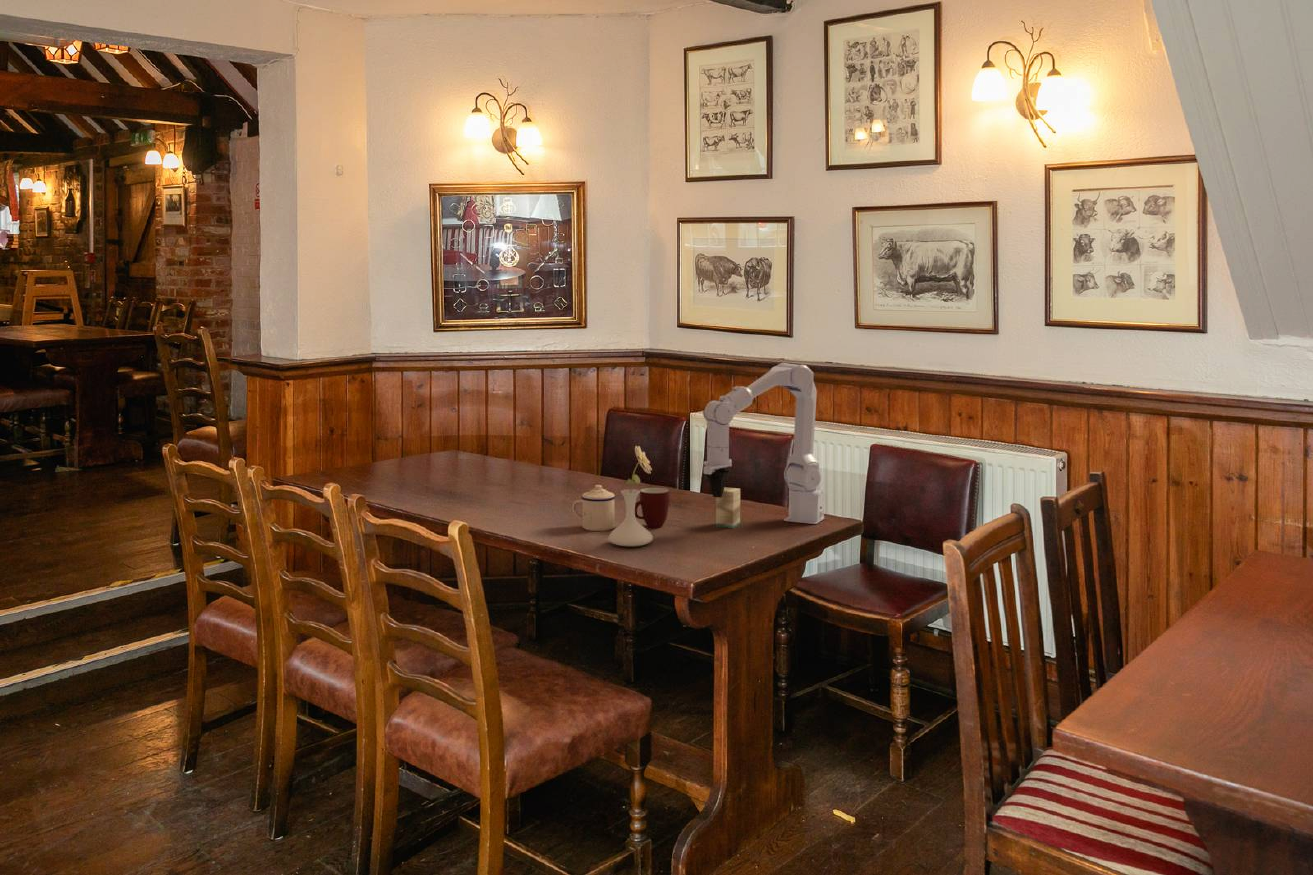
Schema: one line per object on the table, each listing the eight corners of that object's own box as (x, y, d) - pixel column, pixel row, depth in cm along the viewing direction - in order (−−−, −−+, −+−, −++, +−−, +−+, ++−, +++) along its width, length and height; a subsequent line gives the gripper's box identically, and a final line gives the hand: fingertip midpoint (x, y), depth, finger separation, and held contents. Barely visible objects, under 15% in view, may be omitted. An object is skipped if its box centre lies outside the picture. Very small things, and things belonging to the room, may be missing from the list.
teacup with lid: (619, 525, 299) (619, 483, 297) (608, 532, 290) (608, 489, 289) (579, 522, 303) (578, 481, 301) (566, 529, 294) (566, 487, 292)
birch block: (739, 524, 300) (740, 488, 298) (733, 528, 295) (733, 491, 294) (723, 522, 302) (723, 487, 301) (716, 526, 298) (716, 490, 296)
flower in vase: (637, 552, 270) (636, 452, 266) (599, 546, 276) (598, 448, 272) (664, 541, 281) (664, 445, 277) (627, 536, 286) (627, 441, 283)
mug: (643, 532, 290) (643, 495, 289) (626, 526, 297) (626, 490, 295) (675, 527, 296) (675, 491, 295) (658, 521, 303) (658, 486, 301)
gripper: (714, 441, 297) (714, 490, 299) (693, 449, 284) (692, 500, 286) (738, 443, 294) (738, 493, 296) (718, 451, 281) (717, 502, 283)
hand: (717, 496), depth 291 cm, fingers closed
